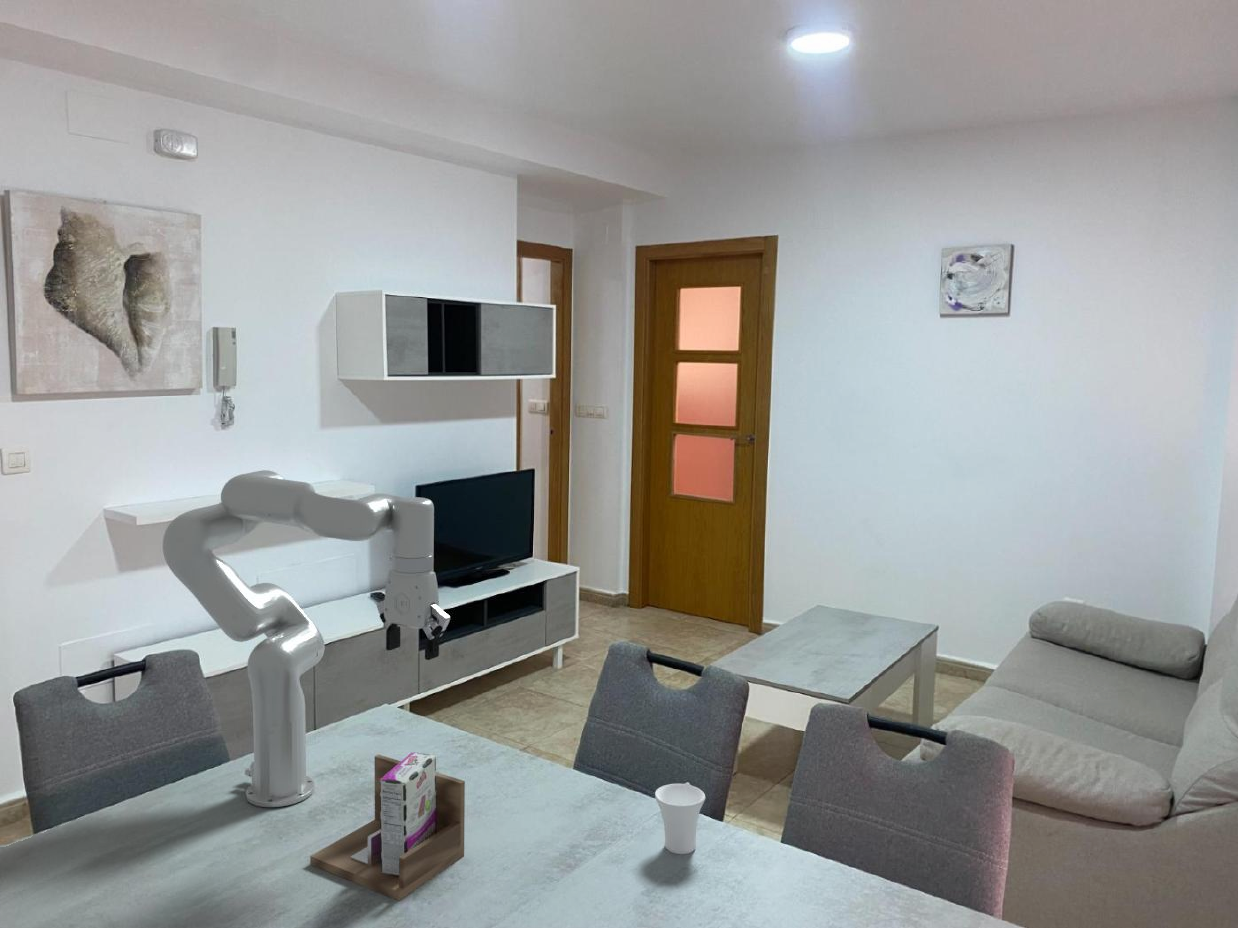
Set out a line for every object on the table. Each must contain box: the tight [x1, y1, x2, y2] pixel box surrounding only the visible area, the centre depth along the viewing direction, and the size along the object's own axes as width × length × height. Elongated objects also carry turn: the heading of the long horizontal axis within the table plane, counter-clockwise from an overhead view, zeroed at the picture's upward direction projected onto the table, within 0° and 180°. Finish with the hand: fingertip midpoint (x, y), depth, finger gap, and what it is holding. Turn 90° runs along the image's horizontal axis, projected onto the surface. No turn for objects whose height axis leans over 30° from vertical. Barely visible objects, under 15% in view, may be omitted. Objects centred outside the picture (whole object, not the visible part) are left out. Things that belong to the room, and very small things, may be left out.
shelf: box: [309, 754, 466, 901], centre depth 158 cm, size 20×16×14 cm
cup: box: [654, 782, 706, 855], centre depth 165 cm, size 9×9×10 cm
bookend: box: [350, 829, 381, 867], centre depth 159 cm, size 5×10×5 cm, turn 150°
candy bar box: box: [380, 752, 437, 876], centre depth 155 cm, size 11×5×16 cm, turn 165°
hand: (412, 653), depth 174 cm, fingers open, 9 cm apart
